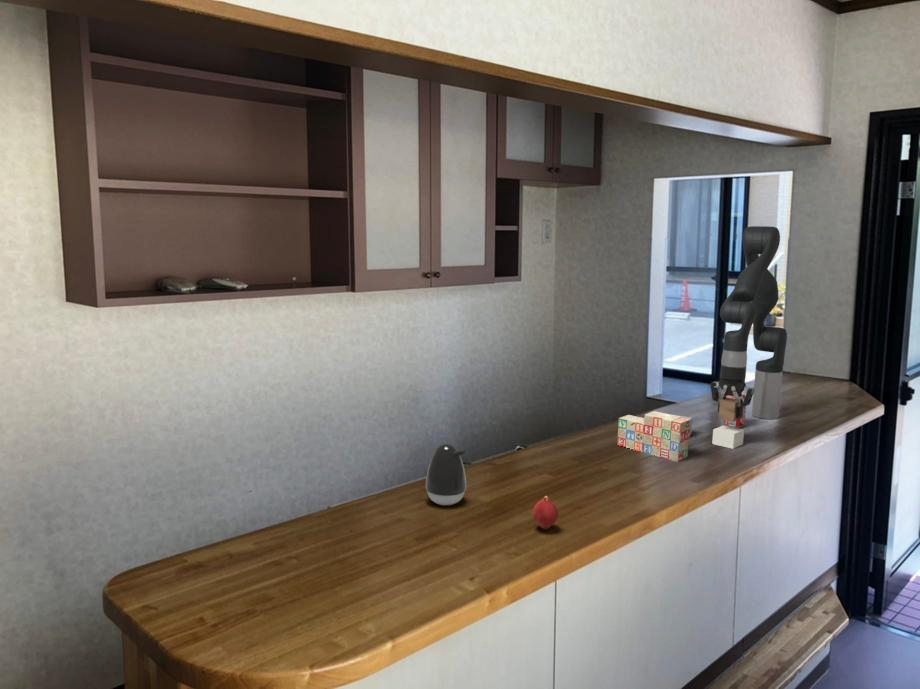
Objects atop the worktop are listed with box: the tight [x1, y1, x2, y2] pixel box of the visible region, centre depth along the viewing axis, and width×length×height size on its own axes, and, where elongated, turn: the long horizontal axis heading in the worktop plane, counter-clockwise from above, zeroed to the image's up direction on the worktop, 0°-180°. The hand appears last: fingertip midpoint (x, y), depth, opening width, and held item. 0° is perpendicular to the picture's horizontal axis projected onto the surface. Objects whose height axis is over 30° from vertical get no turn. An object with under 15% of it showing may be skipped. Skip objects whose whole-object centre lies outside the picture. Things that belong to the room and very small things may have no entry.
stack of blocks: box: [616, 410, 691, 462], centre depth 233 cm, size 21×6×12 cm, turn 46°
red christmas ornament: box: [532, 495, 559, 530], centre depth 174 cm, size 6×6×8 cm
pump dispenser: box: [425, 442, 467, 506], centre depth 189 cm, size 10×10×15 cm
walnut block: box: [718, 398, 741, 421], centre depth 241 cm, size 5×5×6 cm
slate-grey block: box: [679, 415, 693, 436], centre depth 252 cm, size 5×5×6 cm
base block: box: [711, 424, 745, 450], centre depth 243 cm, size 7×7×5 cm
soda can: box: [723, 391, 747, 429], centre depth 263 cm, size 7×7×12 cm
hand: (729, 416), depth 242 cm, fingers closed on walnut block, 5 cm apart
